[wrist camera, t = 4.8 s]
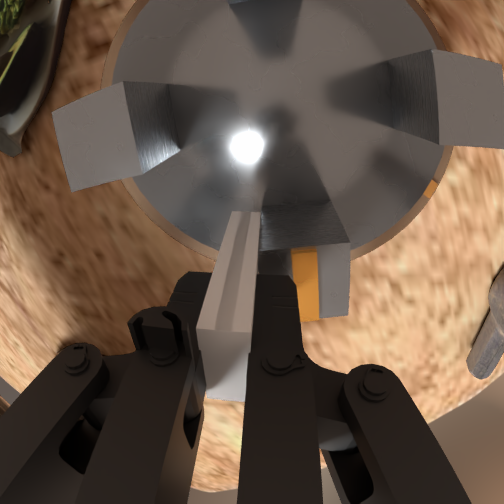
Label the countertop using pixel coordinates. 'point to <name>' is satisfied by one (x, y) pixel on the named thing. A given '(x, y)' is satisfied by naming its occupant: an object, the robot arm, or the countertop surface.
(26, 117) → the salad plate
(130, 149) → the four-tab metal disc
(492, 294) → the pipe
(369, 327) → the countertop surface
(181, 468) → the robot arm
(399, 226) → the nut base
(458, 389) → the countertop surface
